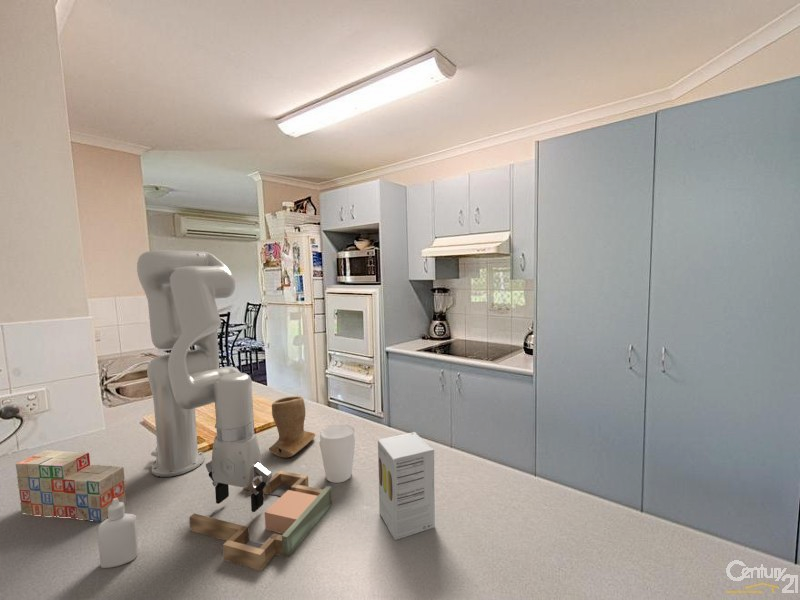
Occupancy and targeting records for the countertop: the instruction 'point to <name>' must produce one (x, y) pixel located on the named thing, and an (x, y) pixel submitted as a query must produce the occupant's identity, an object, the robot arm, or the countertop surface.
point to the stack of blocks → (68, 485)
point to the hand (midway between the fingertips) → (239, 504)
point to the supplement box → (406, 484)
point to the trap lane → (260, 554)
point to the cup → (337, 451)
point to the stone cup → (290, 426)
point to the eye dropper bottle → (118, 537)
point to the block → (287, 510)
